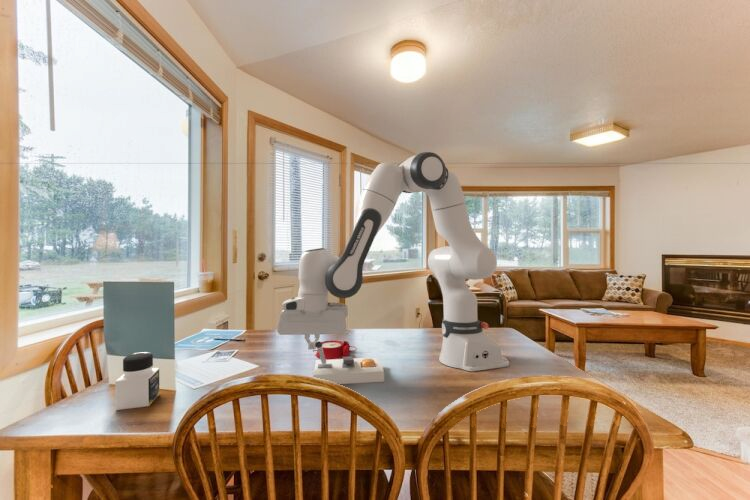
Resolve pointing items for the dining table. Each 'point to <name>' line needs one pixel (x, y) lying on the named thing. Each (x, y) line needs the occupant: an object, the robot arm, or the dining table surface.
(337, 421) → the dining table surface
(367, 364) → the button
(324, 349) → the alarm clock
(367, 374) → the panel
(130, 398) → the medicine bottle
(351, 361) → the rocker
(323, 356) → the lever
